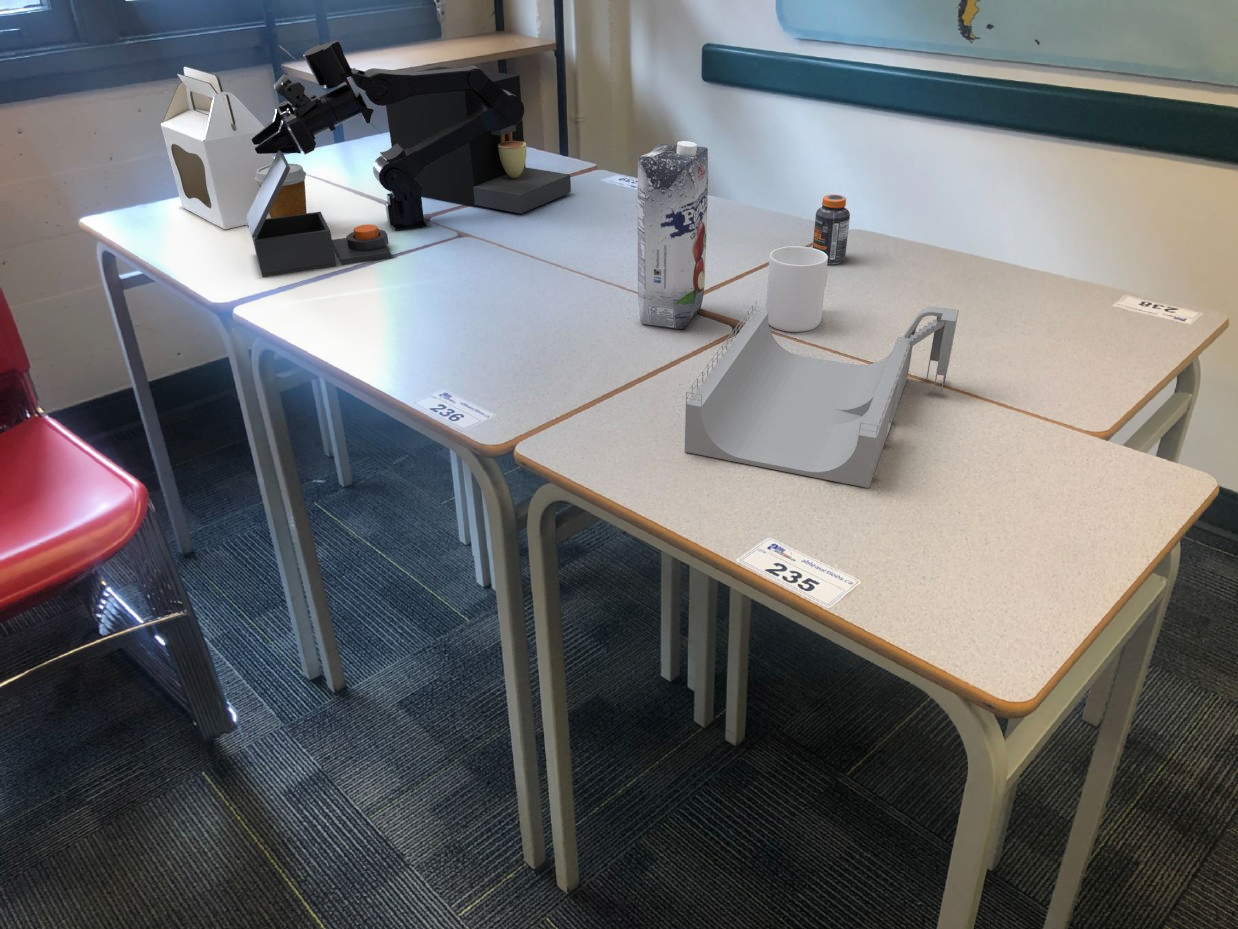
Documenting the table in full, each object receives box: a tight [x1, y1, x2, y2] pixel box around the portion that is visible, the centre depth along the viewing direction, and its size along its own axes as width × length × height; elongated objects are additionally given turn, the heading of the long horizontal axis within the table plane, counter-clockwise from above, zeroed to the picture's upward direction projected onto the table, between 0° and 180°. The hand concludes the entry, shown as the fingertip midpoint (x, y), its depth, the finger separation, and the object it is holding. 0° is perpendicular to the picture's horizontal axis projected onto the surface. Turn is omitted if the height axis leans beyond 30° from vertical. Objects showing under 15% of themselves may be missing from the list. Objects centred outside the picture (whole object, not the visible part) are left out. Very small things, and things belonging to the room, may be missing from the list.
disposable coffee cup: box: [255, 163, 308, 218], centre depth 188 cm, size 10×10×12 cm
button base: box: [332, 228, 392, 266], centre depth 178 cm, size 10×12×3 cm
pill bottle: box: [812, 193, 851, 265], centre depth 168 cm, size 6×6×11 cm
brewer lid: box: [246, 150, 290, 239], centre depth 167 cm, size 14×12×1 cm
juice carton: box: [636, 140, 709, 330], centre depth 143 cm, size 9×10×27 cm
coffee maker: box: [385, 66, 572, 215], centre depth 204 cm, size 18×35×24 cm, turn 57°
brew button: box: [353, 224, 379, 240], centre depth 177 cm, size 4×4×2 cm
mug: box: [765, 245, 829, 333], centre depth 146 cm, size 9×12×11 cm
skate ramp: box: [684, 300, 960, 489], centre depth 119 cm, size 30×27×11 cm
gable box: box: [160, 66, 275, 231], centre depth 194 cm, size 22×13×28 cm, turn 43°
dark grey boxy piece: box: [252, 211, 337, 278], centre depth 173 cm, size 13×12×7 cm
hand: (254, 146), depth 174 cm, fingers open, 8 cm apart
